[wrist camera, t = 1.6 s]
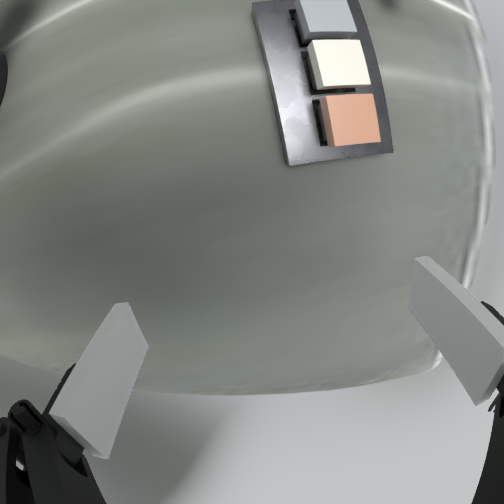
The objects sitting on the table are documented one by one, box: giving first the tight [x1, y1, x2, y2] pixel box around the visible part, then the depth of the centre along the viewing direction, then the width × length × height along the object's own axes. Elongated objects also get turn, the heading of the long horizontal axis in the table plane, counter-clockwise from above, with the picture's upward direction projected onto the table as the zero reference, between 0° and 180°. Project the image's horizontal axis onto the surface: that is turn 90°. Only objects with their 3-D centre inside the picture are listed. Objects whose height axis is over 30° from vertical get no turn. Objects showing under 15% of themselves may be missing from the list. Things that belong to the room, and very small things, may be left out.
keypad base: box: [252, 0, 393, 166], centre depth 24 cm, size 19×12×3 cm, turn 11°
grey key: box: [294, 0, 357, 44], centre depth 19 cm, size 5×5×5 cm
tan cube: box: [317, 94, 381, 146], centre depth 23 cm, size 5×5×5 cm
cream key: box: [306, 40, 371, 90], centre depth 21 cm, size 5×5×5 cm
